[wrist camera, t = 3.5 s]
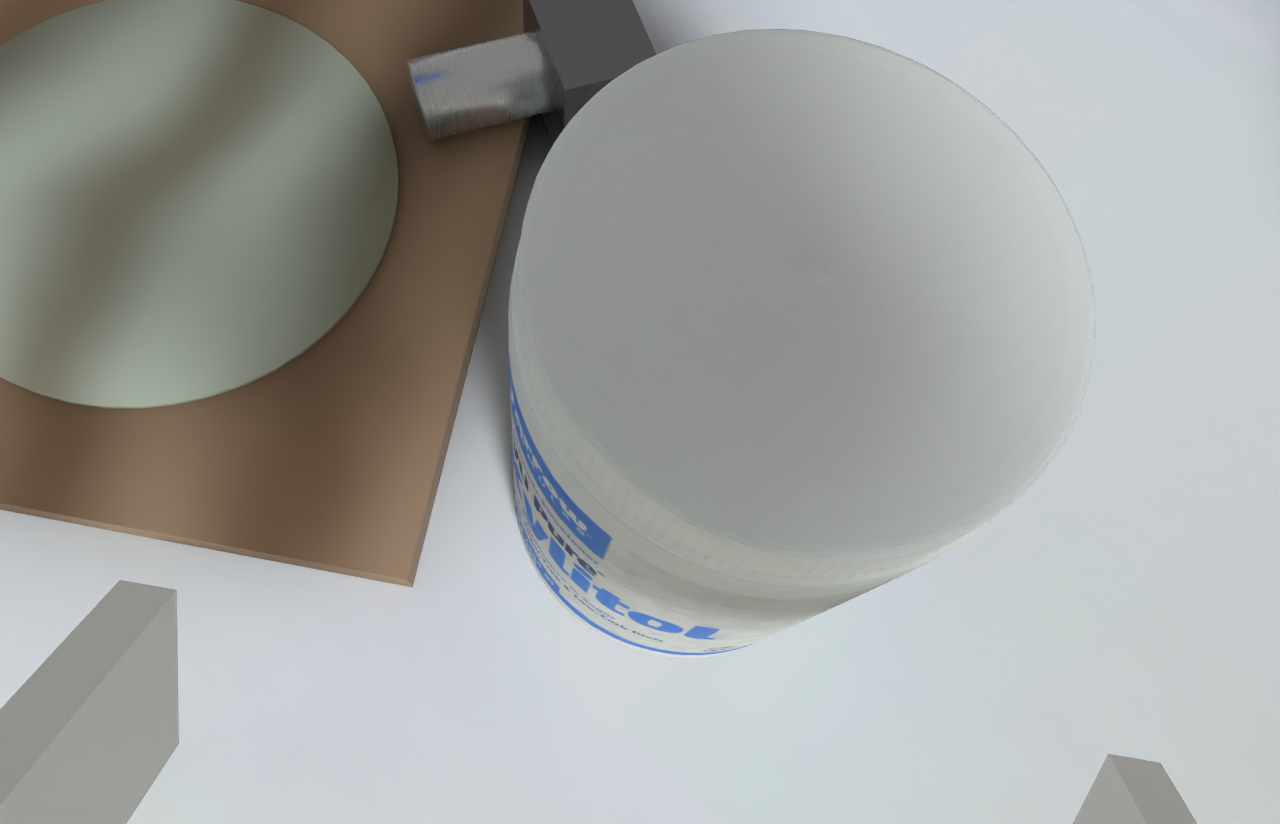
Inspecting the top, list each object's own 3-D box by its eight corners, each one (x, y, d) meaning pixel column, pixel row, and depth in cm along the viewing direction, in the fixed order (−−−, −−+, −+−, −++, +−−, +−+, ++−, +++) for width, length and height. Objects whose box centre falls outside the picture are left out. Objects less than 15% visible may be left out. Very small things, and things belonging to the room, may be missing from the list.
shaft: (443, 198, 31) (430, 122, 28) (409, 98, 32) (392, 11, 29) (647, 145, 33) (661, 66, 29) (607, 51, 34) (615, -37, 30)
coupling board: (555, 22, 34) (556, -10, 33) (412, 587, 27) (405, 577, 26) (-20, -98, 33) (-44, -136, 32) (-315, 450, 27) (-362, 432, 25)
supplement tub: (454, 563, 28) (369, 371, 14) (607, 298, 31) (663, -75, 17) (763, 725, 27) (998, 694, 13) (887, 436, 30) (1180, 166, 16)
